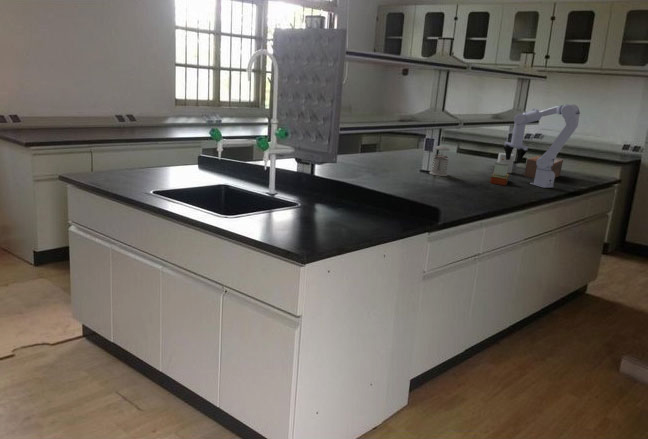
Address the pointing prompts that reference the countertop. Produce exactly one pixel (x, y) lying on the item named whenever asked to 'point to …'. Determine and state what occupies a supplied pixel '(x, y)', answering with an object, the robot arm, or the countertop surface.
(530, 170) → the tissue box cover
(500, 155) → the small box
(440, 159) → the french press
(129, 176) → the countertop surface
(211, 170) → the countertop surface
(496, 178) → the carton
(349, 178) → the countertop surface
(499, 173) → the box
